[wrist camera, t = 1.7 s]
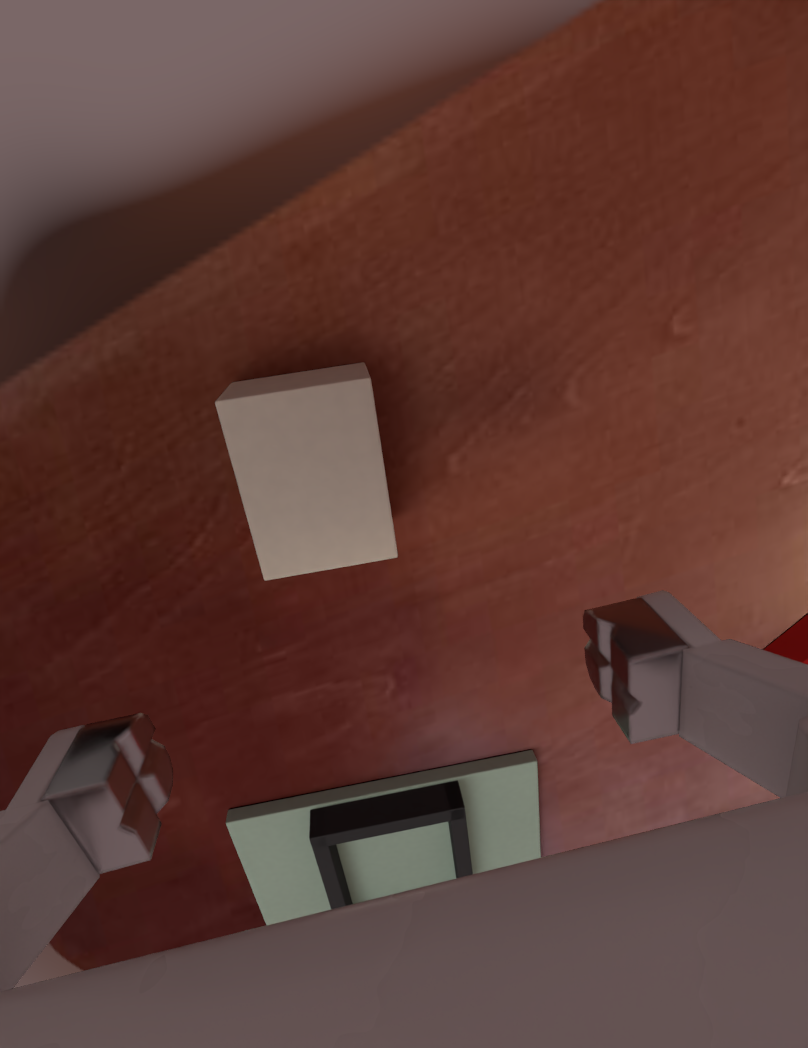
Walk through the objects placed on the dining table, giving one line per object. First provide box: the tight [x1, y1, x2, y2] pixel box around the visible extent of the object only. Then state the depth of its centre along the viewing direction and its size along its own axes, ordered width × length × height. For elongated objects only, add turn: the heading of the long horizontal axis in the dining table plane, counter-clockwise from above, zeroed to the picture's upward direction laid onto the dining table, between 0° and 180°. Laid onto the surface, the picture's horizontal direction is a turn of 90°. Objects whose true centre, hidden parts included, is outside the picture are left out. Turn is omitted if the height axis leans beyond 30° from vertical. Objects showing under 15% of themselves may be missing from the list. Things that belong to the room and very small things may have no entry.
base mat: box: [226, 750, 541, 925], centre depth 38 cm, size 20×16×3 cm
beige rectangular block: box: [215, 362, 398, 581], centre depth 25 cm, size 6×8×4 cm
